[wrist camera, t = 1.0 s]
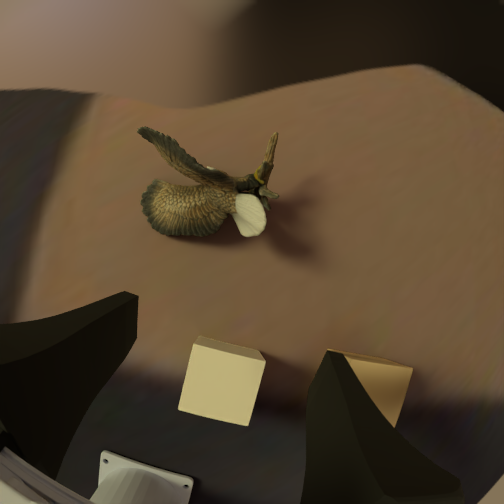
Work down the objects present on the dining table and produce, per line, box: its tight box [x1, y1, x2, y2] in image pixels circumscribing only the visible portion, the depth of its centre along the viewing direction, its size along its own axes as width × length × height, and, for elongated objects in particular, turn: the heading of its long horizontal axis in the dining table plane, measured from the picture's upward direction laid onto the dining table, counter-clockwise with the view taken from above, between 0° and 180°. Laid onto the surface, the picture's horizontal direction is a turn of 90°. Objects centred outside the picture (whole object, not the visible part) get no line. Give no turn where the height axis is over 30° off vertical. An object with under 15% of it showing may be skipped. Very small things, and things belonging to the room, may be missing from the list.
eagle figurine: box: [137, 126, 279, 237], centre depth 21 cm, size 8×8×10 cm
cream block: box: [178, 335, 266, 426], centre depth 20 cm, size 4×4×4 cm
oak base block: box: [328, 348, 413, 428], centre depth 21 cm, size 5×5×5 cm
